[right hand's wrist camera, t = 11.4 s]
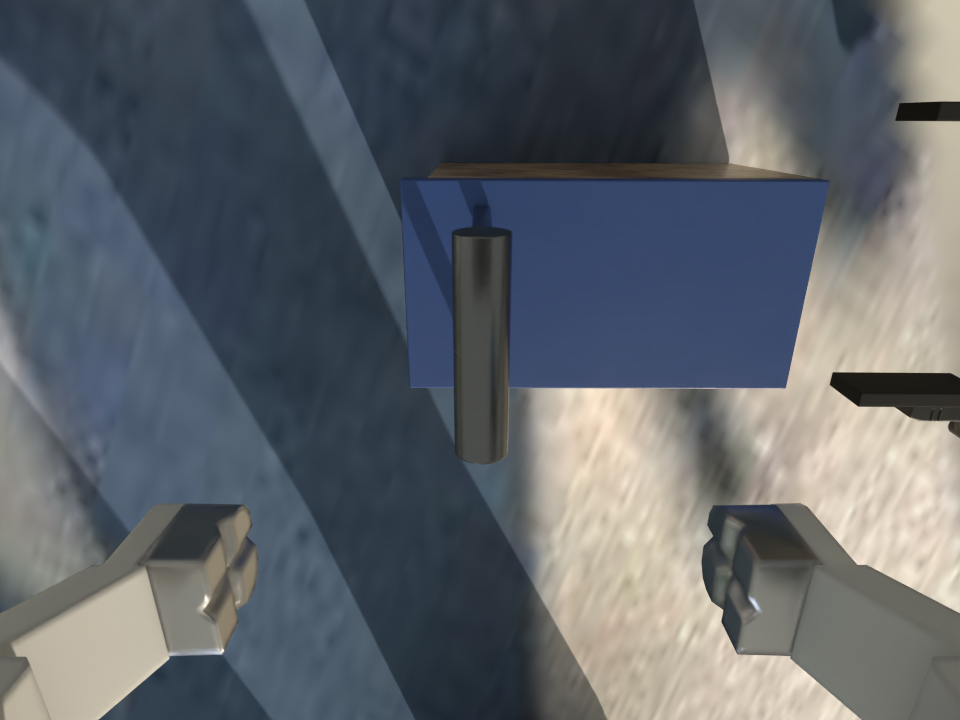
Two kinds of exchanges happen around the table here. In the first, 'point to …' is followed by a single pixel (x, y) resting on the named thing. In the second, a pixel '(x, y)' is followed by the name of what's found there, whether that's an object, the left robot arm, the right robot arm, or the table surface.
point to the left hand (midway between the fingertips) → (876, 262)
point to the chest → (603, 171)
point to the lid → (600, 287)
